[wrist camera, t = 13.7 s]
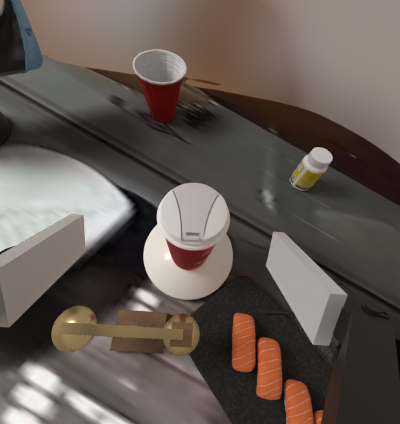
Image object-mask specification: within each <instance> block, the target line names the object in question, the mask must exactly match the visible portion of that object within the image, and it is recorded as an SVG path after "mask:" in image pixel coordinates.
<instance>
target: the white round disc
mask: <svg viewBox="0 0 400 424" xmlns="http://www.w3.org/2000/svg"><path fill="white" fill-rule="evenodd" d="M232 262H233V250H232V245H231V242H230V239H229V237H228V235H227V234H225V236H224V237H223V238H222V239H221V240H220V241H219V242H218V243H217V244H216V245H215V246H214V248H213V250H212V251H211V253H210V255H209V256H208V258H207V259H206V261H205V262H204V263H203V265H202V266H200V267H199V268H197V269H195V270H184V269H181V268H179V267H178V266H177V265H176V264H175V263H174V261H173V259H172V257H171V254H170V251H169V248H168V245H167V242H166V239H165V237H164V236H163V234H162V233H161V231H160V229H159V226H158V224H157V225H156V227H155V228H154V229H153V230H152V231H151V233H150V234H149V236H148V238H147V241H146V243H145V247H144V265H145V269H146V272H147V274H148V276H149V278H150V279H151V281H152V282H153V284H154V285H155V286H156V287H157V288H158V289H159V290H161V291H162V292H163V293H165V294H167V295H169V296H171V297H174V298H177V299H182V300H194V299H199V298H203V297H205V296H208V295H210V294H211V293H213V292H214V291H216V290H217V289H218V288H219V287H220V286H221V285H222V284H223V283H224V281H225V280H226V278H227V277H228V275H229V273H230V270H231V267H232Z"/></svg>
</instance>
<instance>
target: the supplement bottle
mask: <svg viewBox="0 0 400 424" xmlns="http://www.w3.org/2000/svg"><path fill="white" fill-rule="evenodd" d="M331 161H332V155H331V153H330V152H329V151H328V150H326V149H324V148H320V147H317V148H314V149H313V150H312V151H311V152H310V153H309V155H307V156H305V157H304V158H303V160H302V161H301V163H300V164H299V165H298V167H297V168H296V170H295V171H294V173H293V174H292V175H291V177H290V182H291V184H292V186H293V187H295V188H296V189H298V190H301V191H306V190H308V189H310V188H311V187H312V186H313V185H314V183H315V182H316V181H317V180H318V179H319V178H320V177H321V176H322V175H323V173H324V172H325V171H326V170H327V166H328V165H329V164H330V162H331Z"/></svg>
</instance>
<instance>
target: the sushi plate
mask: <svg viewBox="0 0 400 424" xmlns="http://www.w3.org/2000/svg"><path fill="white" fill-rule="evenodd" d="M284 314H293V315H295V314H294V312H289V311H281V310H280V309H279V308H278V306H277V305H276V304H275V303H274V302H273V300H272V299H271V298H270V297H269V296H268V295H267V294H266V292H265V291H264V290H263V289H262V288H261V287H260V286H259V285H258V284H257V283H256V282H255V281H253V280H252V279H250V278H248V277H246V276H244V277H239V278H236V279H235V280H233V281H231V282H230V283H228V284H227V285H226V286H224V287H223V288H222V289H221V290H219V291H218V292H217V293H216V294H215V295H213V296H212V297H211V298H210V299H209V300H207V301H206V302H205V303H204V304H203V305H202V306H201V307H199V308H198V309H197V310H196V311H195V312H194V313H193V314H192V315H191V317H192V318H193V319H194V320H195V321H196V322H197V324H198V327H199V332H200V336H199V341H198V344H197V346H196V347H195V349H194V350H193V351H192V352H190V353H189V355H190V356H191V358H192V360H193V361H194V363H195V365H196V366H197V368H198V370H199V371H200V373H201V375H202V376H203V378H204V379H205V381H206V383H207V384H208V386H209V387H210V389H211V390H212V392H213V394H214V395H215V397H216V398H217V400H218V402H219V403H220V405H221V406H222V408H223V409H224V411H225V413H226V414H227V416H228V417H229V419H230V421H231V422H232V424H321V420H322V415H323V410H324V405H325V401H326V396H327V391H328V386H329V382H330V377H331V372H332V370H331V369H330V368H329V367H328V366H327V364H326V363H325V362H324V361H323V360H322V358H321V357H320V356H319V355H318V354H317V353H316V351H315V350H314V349H313V348H312V347H311V345H310V344H309V343H308V342H307V341H306V340H305V338H304V337H303V336H302V335H301V334H300V332H299V331H298V330H297V329H296V328H295V326H294V325H293V324H292V323H291V322H290V321H289V319H288V318H287V317H286V316H285V315H284ZM392 319H395V320H399V318H395V317H392ZM329 348H330V349H331V351H332V353H333V355H334V354H335V351H334V349H333V347H332V345H331V343H330V345H329Z"/></svg>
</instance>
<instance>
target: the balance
mask: <svg viewBox="0 0 400 424" xmlns="http://www.w3.org/2000/svg"><path fill="white" fill-rule="evenodd" d="M166 322H167V313H162V312H146V311H130V310H119V311H118V316H117V320H116V325H103V324H97V318H96V315H95V314H94V312H93V311H92V310H91V309H89V308H87V307H84V306H74V307H71V308H69V309H67V310H66V311H64V312H63V313H62V314H61V315H60V316H59V317H58V318H57V320H56V321H55V323H54V326H53V329H52V341H53V344H54V345H55V347H56V348H57V349H58V350H60V351H62V352H74V351H78V350H80V349H82V348H83V347H85V346H86V345H87V344H88V343H89V342H90V341H91V340H92V338H93V336H110V337H113V339H112V344H111V348H110V351H128V352H146V353H163V348H164V344H165V346H166V348H167V349H168V351H169V352H171V353H172V354H174V355H177V356H184V355H187V354H189V353H190V352H192V351H193V350H194V349H195V347H196V346H197V344H198V341H199V336H200V332H199V327H198V324H197V322H196V321H195V320H194V319H193V318H192V317H191V316H189V315H186V314H178V315H175V316H173V317H172V318H170V319H169V320H168V322H167V323H166Z"/></svg>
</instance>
